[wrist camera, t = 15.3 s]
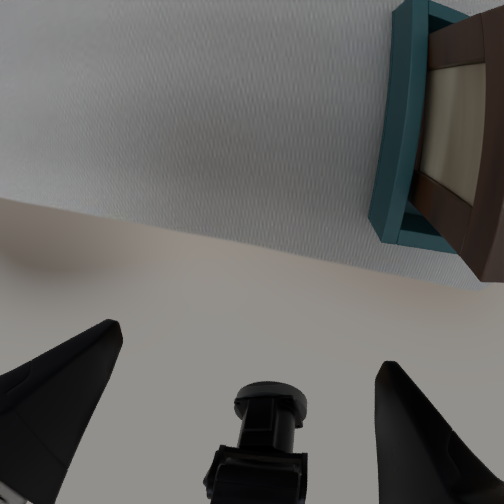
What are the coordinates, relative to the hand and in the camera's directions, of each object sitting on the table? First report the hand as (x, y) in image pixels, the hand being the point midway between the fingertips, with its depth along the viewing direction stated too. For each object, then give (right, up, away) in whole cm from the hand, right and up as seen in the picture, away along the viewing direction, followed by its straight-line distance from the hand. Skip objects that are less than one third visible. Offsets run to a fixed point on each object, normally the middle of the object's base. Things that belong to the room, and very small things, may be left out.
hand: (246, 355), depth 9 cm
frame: (+12, +11, +6) cm, 17 cm away
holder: (+12, +11, +7) cm, 18 cm away
